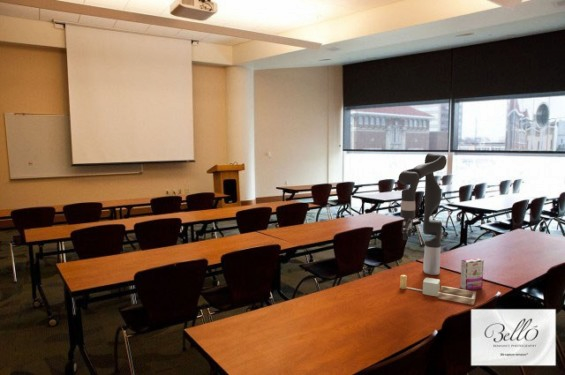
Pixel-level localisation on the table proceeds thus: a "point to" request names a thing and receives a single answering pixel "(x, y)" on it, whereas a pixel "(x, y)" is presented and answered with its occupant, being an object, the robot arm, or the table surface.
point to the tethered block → (429, 285)
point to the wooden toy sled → (456, 297)
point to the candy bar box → (471, 273)
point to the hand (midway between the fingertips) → (406, 238)
